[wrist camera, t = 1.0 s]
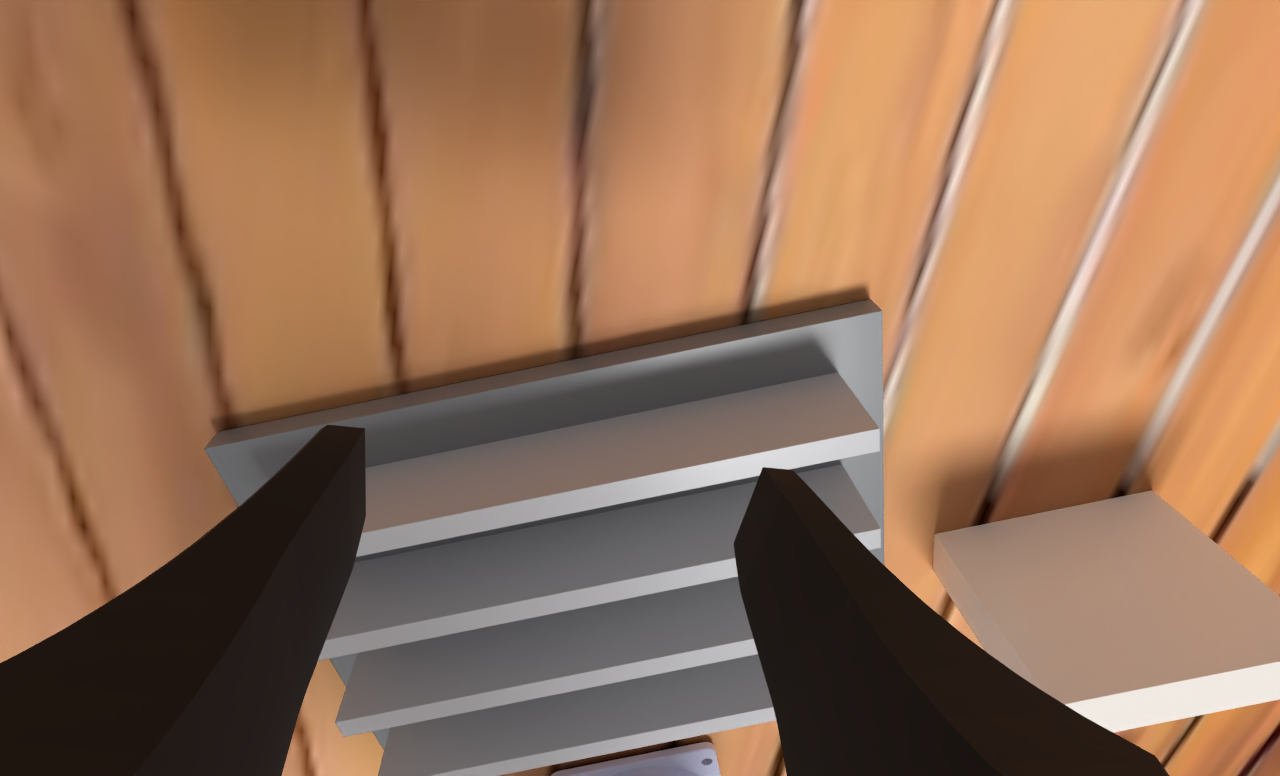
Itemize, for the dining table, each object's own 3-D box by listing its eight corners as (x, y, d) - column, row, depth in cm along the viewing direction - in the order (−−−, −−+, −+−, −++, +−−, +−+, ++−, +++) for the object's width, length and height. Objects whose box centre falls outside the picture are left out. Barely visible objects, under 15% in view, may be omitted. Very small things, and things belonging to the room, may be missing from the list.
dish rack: (875, 631, 31) (920, 722, 27) (388, 728, 31) (362, 833, 27) (870, 299, 23) (932, 360, 19) (217, 432, 23) (146, 519, 19)
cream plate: (1142, 527, 29) (1322, 690, 22) (932, 569, 29) (1046, 745, 22) (1151, 489, 28) (1342, 648, 21) (933, 533, 28) (1053, 706, 21)
